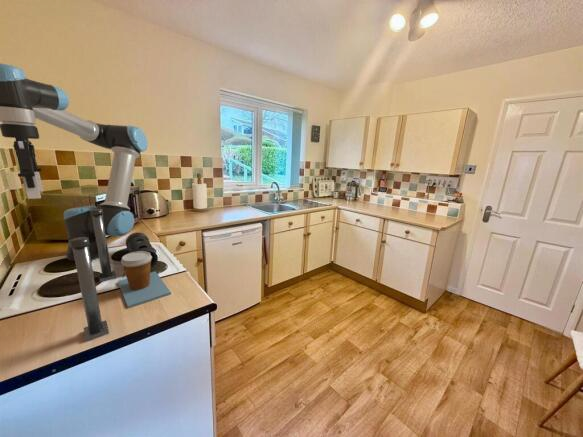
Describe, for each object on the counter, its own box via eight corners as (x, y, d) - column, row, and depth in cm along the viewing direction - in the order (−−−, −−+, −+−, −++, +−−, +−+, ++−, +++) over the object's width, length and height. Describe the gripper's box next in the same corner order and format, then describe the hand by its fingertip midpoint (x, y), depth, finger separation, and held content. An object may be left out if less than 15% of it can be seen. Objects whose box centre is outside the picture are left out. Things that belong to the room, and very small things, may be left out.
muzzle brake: (133, 275, 97) (130, 252, 94) (126, 252, 118) (123, 232, 115) (159, 269, 103) (157, 247, 100) (148, 248, 123) (146, 229, 121)
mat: (118, 282, 90) (117, 281, 90) (155, 273, 99) (155, 271, 99) (128, 308, 76) (127, 306, 76) (171, 294, 85) (170, 292, 85)
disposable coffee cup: (132, 295, 82) (128, 264, 79) (119, 286, 87) (115, 256, 83) (159, 284, 90) (156, 255, 87) (146, 276, 94) (143, 248, 91)
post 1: (84, 331, 66) (65, 238, 59) (106, 323, 69) (91, 234, 62) (85, 341, 62) (65, 244, 55) (109, 333, 66) (92, 240, 59)
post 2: (98, 277, 94) (87, 209, 87) (114, 273, 97) (104, 208, 90) (100, 282, 90) (88, 212, 83) (116, 278, 94) (105, 210, 87)
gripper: (6, 124, 76) (23, 189, 82) (-11, 120, 59) (13, 203, 65) (39, 127, 81) (53, 188, 87) (33, 123, 64) (51, 200, 70)
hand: (36, 194), depth 76 cm, fingers open, 13 cm apart
